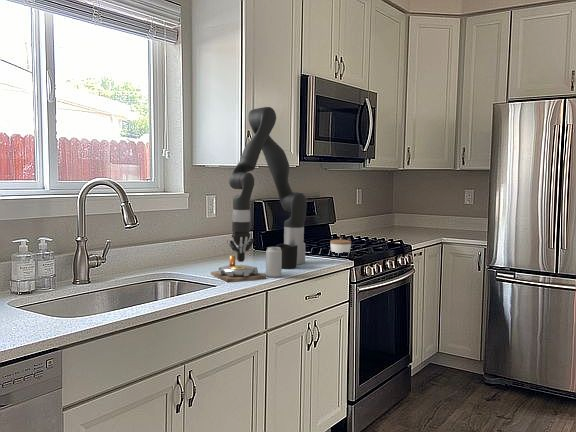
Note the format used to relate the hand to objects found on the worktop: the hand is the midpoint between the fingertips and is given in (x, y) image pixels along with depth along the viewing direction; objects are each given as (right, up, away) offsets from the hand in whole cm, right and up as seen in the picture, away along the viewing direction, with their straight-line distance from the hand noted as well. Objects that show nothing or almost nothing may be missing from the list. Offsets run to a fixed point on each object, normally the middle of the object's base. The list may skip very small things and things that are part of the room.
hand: (240, 261), depth 231 cm
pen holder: (+19, -4, +17) cm, 26 cm away
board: (-1, -6, -6) cm, 8 cm away
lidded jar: (+47, -2, +53) cm, 70 cm away
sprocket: (-1, -4, -6) cm, 7 cm away
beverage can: (+14, -6, -4) cm, 16 cm away
